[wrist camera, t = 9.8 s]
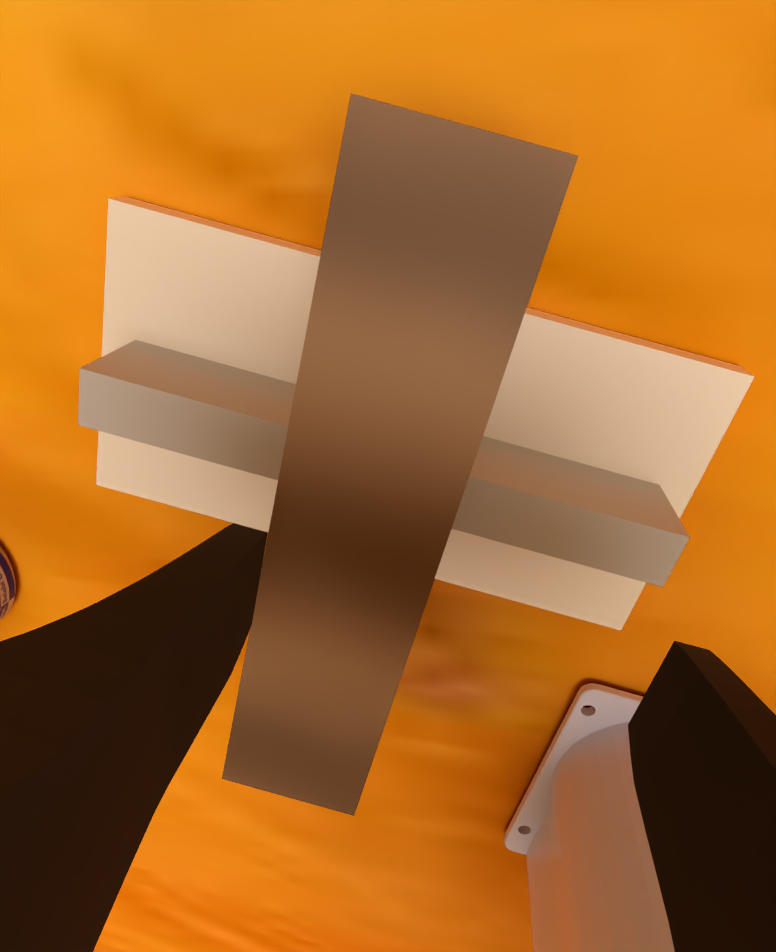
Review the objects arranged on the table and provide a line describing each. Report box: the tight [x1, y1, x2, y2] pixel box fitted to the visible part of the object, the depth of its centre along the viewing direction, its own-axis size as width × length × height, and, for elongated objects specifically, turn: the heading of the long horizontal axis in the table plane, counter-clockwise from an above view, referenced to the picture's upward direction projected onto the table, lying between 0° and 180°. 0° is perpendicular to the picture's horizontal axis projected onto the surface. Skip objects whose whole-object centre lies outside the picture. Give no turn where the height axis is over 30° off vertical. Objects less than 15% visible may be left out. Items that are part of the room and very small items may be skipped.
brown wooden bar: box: [222, 94, 578, 815], centre depth 15 cm, size 16×4×4 cm, turn 166°
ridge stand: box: [78, 197, 754, 631], centre depth 19 cm, size 9×18×4 cm, turn 76°
